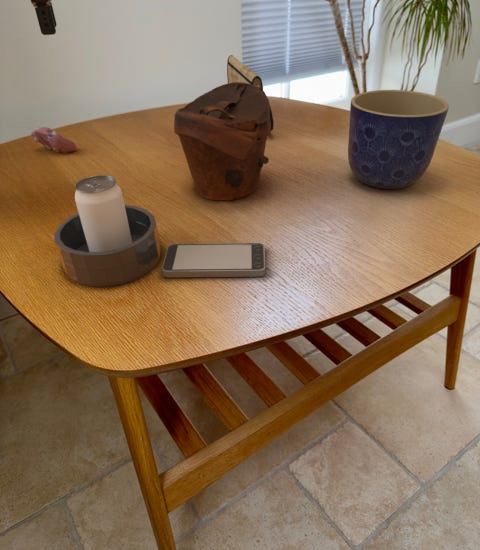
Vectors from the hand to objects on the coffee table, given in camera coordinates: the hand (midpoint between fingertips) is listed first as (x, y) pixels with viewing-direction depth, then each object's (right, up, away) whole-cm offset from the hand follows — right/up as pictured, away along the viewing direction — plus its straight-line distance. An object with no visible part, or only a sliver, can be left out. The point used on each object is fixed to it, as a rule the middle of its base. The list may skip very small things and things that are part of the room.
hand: (49, 30), depth 72 cm
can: (+12, -37, -4) cm, 39 cm away
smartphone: (+28, -39, -6) cm, 48 cm away
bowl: (+12, -38, -4) cm, 40 cm away
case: (+29, -23, +15) cm, 40 cm away
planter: (+61, -21, +16) cm, 66 cm away
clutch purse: (+35, +1, +47) cm, 58 cm away
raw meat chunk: (-13, -10, +34) cm, 38 cm away
